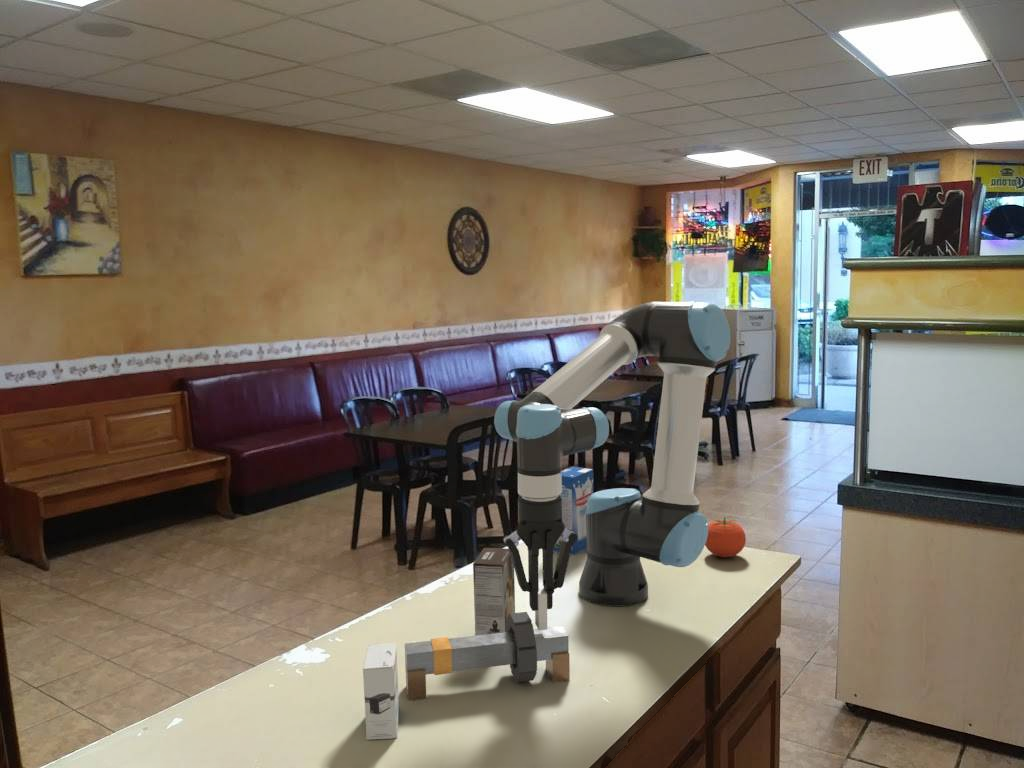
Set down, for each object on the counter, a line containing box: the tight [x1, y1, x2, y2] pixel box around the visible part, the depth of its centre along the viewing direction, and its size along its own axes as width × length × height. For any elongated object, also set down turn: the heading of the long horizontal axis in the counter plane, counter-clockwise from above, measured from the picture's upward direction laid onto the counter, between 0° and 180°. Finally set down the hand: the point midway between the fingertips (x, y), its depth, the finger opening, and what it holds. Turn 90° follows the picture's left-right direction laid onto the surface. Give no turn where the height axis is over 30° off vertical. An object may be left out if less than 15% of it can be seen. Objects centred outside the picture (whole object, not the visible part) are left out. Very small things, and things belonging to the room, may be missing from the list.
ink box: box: [362, 642, 400, 741], centre depth 127 cm, size 8×5×12 cm, turn 5°
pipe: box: [404, 625, 571, 701], centre depth 139 cm, size 28×5×8 cm, turn 102°
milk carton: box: [553, 465, 594, 555], centre depth 206 cm, size 10×6×20 cm, turn 145°
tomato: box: [704, 517, 747, 558], centre depth 198 cm, size 10×10×10 cm
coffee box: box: [472, 547, 516, 636], centre depth 158 cm, size 9×6×16 cm
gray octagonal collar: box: [506, 611, 538, 683], centre depth 140 cm, size 3×11×11 cm, turn 12°
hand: (541, 626), depth 140 cm, fingers closed
